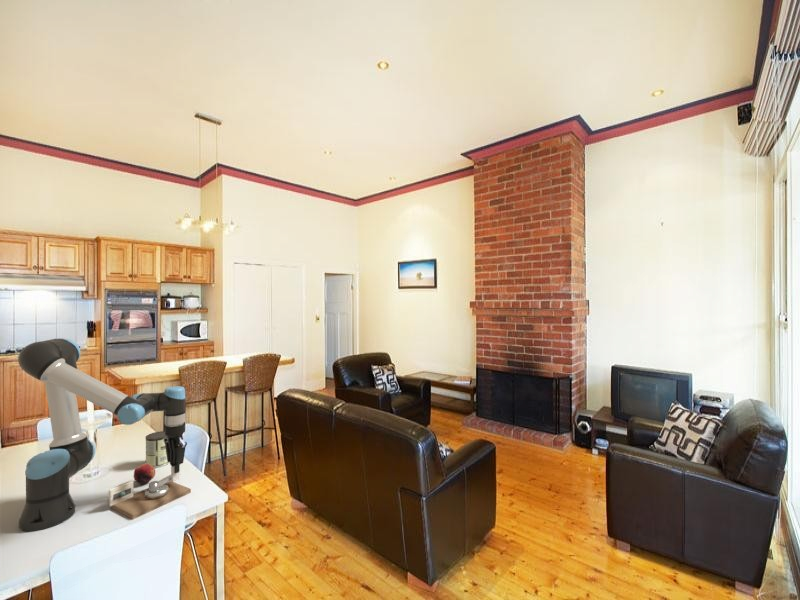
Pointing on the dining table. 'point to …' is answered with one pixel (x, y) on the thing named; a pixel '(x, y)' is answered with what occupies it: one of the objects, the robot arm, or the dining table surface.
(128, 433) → the dining table surface
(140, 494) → the stand
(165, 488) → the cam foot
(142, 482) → the fruit
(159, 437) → the coffee can
